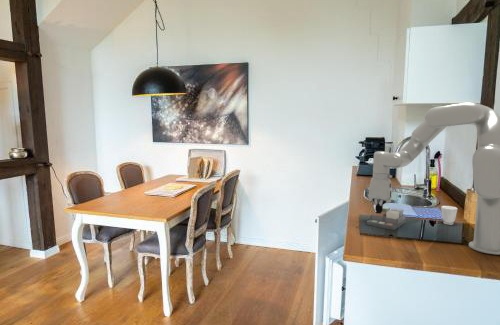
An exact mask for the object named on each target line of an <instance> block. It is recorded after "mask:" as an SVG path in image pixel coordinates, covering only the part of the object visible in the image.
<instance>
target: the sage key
mask: <svg viewBox="0 0 500 325" xmlns="http://www.w3.org/2000/svg"><path fill="white" fill-rule="evenodd" d="M389 210H391V206H384V205H383V211H382V212H385V213H386V212H387V211H389Z"/></svg>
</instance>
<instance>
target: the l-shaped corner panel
mask: <svg viewBox="0 0 500 325" xmlns="http://www.w3.org/2000/svg"><path fill="white" fill-rule="evenodd" d="M391 201H398V192H393V191H392V198H391Z"/></svg>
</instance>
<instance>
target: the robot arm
mask: <svg viewBox="0 0 500 325" xmlns="http://www.w3.org/2000/svg"><path fill="white" fill-rule="evenodd" d="M463 125H464V126H465V125H473V126H475V127H476V141H477V149H476V150H474V152H473V154H472V160H471V162H472V177H473V178H472V179H473V189H474V191H475V193H476V194H477V197H476V206H475V220H474V221H475V222H474V232H473V240H472V241H470V242H468V247H469V248H470V249H472V250H474V251H476V252H479V253H484V254H489V255H498V256H499V255H500V114H499V113H497V111H496V110H494V109H493V108H492V107H489V106H486V105H483V104H481V103H478V102H477V103H476V102H461V103H454V104H449V105H441V106H440V105H439V106H434V107H432V108H430V109H428V110H427V111H426V113H425V115H424V120H422V122H420V123H419V125H418V126H417V127H416V128H415V129H414V130H413V131H412V132H411V134H410V136H411V138H410V139H409V141H408V142H407V144H406V145H405V146H404V147H403V148H402V149H400V150H399V151H396V152H389V151H381V150H380V151H379V150H377V151H374V153H373V162H372V177H371V178H370V181H369V188H368V200H369V201H372V203H374V205H375V206H374V207H375V211H374V212H376V213H381V212H382V211H383V206H384V205H385V204H390V203H391V202H392V200H391V198H392V192H393V191H392V190H393V189H392V188H393V187H392V180H391V179H392V178H393V175H391V173H390V170H391V169H390V168H392V169H401V168H403V167H404V168H405V167H407V166H409V165H410V164H411V163H412V162H414V160H415V159H417V157H418V156H419V155H420V154H421V153H422V152H423V151H424V149H425V148H427V146H428V145H429V144H430V143H431V142H432V141H433V140H434V139H435V138H436V137H438V136H439V135H440V133H441V132H443V131H444V130H445V129H446V128H447V127H451V126H463ZM379 200H380V201H379Z"/></svg>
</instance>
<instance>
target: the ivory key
mask: <svg viewBox="0 0 500 325" xmlns="http://www.w3.org/2000/svg"><path fill="white" fill-rule="evenodd" d="M386 218H391V219H398V218H399V212H398V211H391V209H390V210H389V211H387V212H386Z"/></svg>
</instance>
